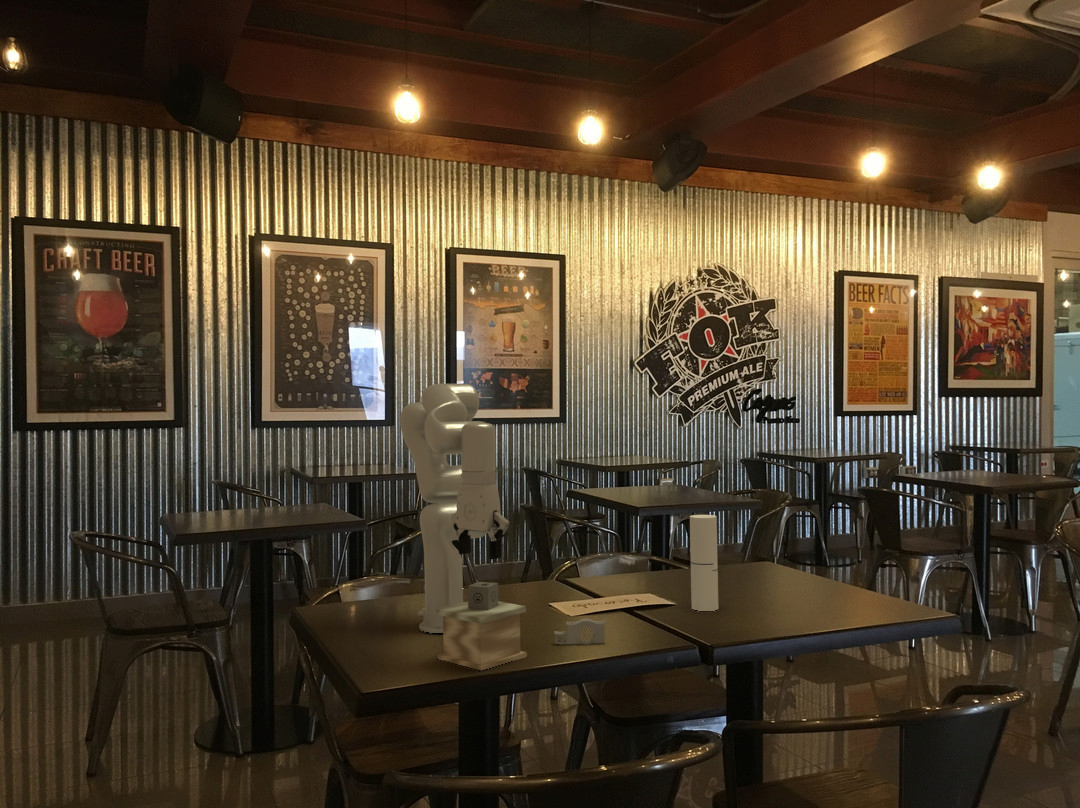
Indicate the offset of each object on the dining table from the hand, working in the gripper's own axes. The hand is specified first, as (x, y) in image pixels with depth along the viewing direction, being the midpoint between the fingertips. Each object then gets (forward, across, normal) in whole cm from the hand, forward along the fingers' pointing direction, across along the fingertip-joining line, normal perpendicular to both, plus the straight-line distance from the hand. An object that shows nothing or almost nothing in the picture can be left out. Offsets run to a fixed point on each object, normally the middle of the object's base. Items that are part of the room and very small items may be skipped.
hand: (479, 556), depth 198 cm
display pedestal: (+22, +1, 0) cm, 23 cm away
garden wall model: (+23, +10, +23) cm, 34 cm away
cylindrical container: (+23, +14, +71) cm, 76 cm away
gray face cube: (+12, 0, 0) cm, 12 cm away
